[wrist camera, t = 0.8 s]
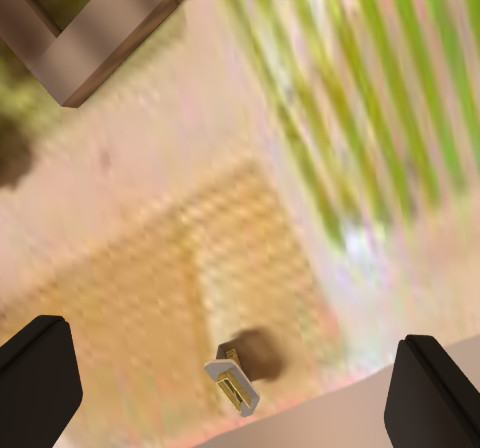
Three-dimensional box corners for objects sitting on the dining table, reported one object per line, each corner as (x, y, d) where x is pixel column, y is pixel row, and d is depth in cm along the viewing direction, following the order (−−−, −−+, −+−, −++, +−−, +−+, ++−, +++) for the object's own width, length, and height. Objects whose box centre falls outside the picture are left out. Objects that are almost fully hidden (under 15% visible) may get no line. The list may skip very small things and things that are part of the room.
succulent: (241, 296, 41) (237, 326, 35) (303, 387, 45) (309, 429, 39) (171, 331, 44) (156, 365, 38) (236, 414, 48) (232, 457, 42)
